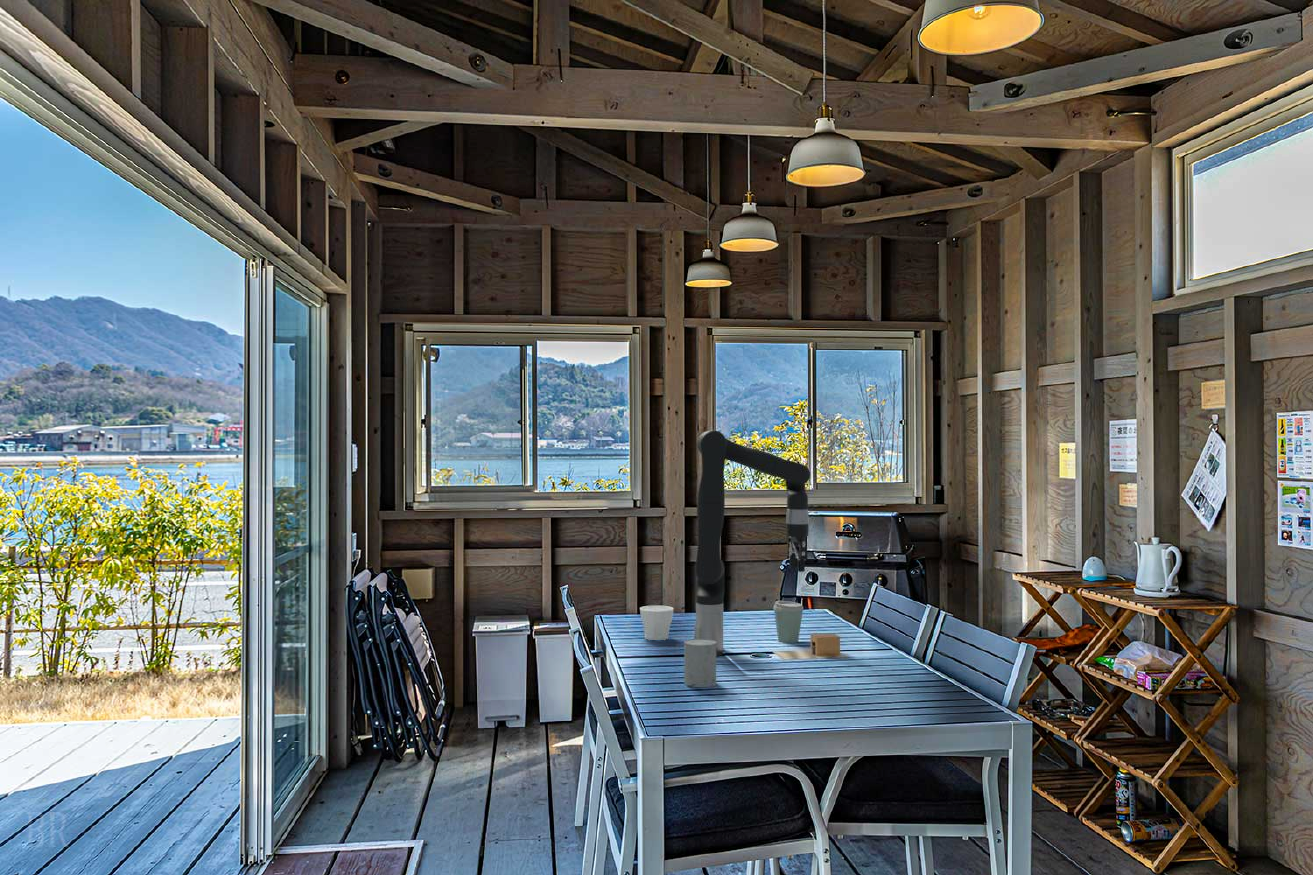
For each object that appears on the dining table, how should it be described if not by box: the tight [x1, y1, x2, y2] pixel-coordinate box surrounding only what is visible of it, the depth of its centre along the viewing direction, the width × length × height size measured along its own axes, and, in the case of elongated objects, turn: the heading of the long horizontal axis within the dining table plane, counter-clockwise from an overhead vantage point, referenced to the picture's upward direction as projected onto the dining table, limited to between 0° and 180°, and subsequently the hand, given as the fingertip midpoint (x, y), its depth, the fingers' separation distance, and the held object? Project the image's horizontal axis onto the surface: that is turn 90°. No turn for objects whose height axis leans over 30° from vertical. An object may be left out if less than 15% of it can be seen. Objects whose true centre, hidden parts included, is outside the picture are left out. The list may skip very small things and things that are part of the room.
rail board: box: [771, 646, 848, 660], centre depth 311 cm, size 22×12×4 cm, turn 100°
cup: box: [639, 605, 675, 641], centre depth 343 cm, size 12×12×11 cm
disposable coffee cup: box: [773, 600, 804, 644], centre depth 333 cm, size 11×11×15 cm
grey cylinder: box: [683, 638, 717, 688], centre depth 278 cm, size 10×10×12 cm
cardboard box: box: [810, 632, 841, 656], centre depth 312 cm, size 8×6×6 cm
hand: (796, 569), depth 321 cm, fingers open, 8 cm apart
